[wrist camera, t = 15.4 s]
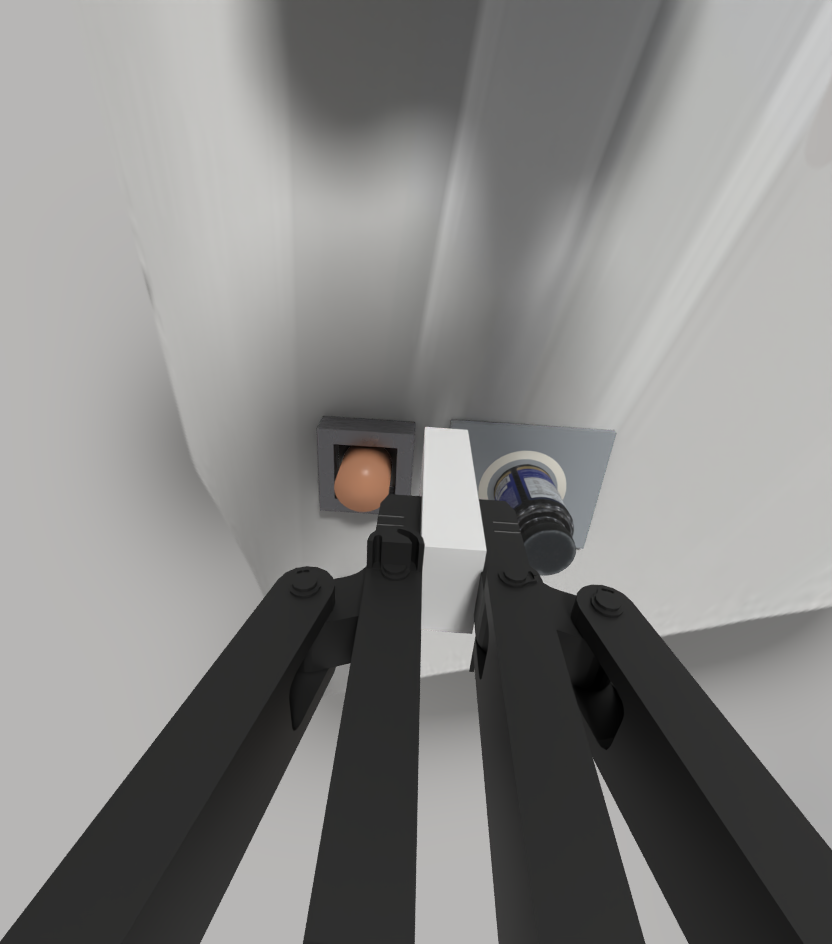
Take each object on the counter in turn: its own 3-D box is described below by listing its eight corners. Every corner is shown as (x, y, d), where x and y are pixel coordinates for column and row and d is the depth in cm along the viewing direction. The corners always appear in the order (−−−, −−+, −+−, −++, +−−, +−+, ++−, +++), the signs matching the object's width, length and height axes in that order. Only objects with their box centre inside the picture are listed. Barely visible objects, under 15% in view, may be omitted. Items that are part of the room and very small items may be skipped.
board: (451, 419, 47) (451, 422, 46) (614, 430, 47) (617, 433, 46) (439, 536, 53) (439, 540, 53) (581, 545, 54) (583, 549, 53)
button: (342, 439, 47) (333, 463, 43) (393, 442, 47) (389, 466, 43) (342, 483, 49) (334, 510, 45) (391, 486, 49) (387, 513, 45)
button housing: (323, 416, 47) (316, 428, 44) (415, 422, 47) (414, 434, 44) (325, 494, 51) (320, 510, 48) (409, 500, 51) (408, 515, 49)
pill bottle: (508, 522, 51) (528, 593, 41) (482, 479, 49) (496, 543, 39) (562, 497, 50) (596, 564, 40) (537, 451, 47) (567, 510, 38)
